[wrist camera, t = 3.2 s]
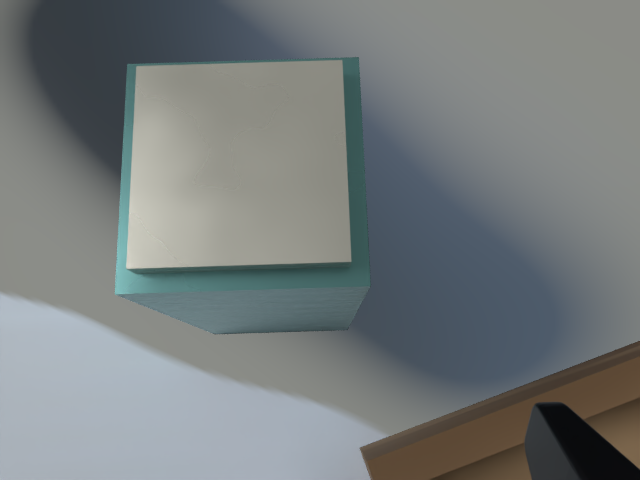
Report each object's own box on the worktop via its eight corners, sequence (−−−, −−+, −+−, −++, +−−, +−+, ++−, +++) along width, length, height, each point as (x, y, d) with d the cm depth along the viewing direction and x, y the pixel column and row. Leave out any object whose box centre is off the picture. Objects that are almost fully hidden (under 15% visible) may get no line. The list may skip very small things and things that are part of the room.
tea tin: (347, 330, 19) (373, 281, 10) (214, 334, 19) (104, 290, 9) (342, 203, 20) (360, 42, 11) (216, 206, 20) (118, 50, 11)
